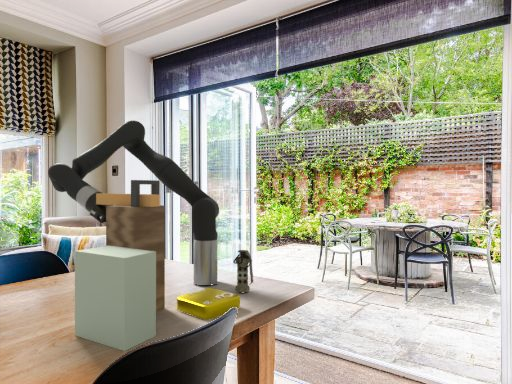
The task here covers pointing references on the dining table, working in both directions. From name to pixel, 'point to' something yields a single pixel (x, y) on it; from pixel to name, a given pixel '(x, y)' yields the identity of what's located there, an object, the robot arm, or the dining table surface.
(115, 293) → the sage green upright block
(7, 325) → the dining table surface
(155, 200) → the bar
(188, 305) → the element tile
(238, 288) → the olive stun grenade
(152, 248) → the walnut post
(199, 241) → the robot arm
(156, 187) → the dark gray square arch
